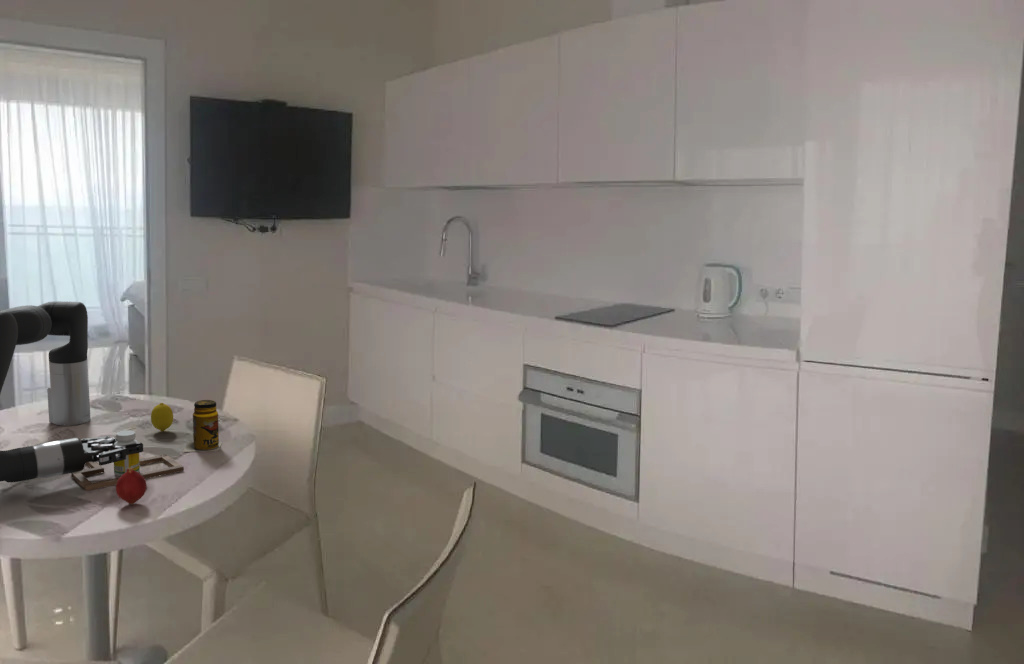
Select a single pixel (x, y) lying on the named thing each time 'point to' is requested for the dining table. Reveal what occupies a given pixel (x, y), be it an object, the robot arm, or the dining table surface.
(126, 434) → the supplement bottle
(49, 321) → the robot arm
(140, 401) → the dining table surface
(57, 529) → the dining table surface
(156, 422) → the lemon
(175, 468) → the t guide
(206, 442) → the condiment
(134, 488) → the onion
